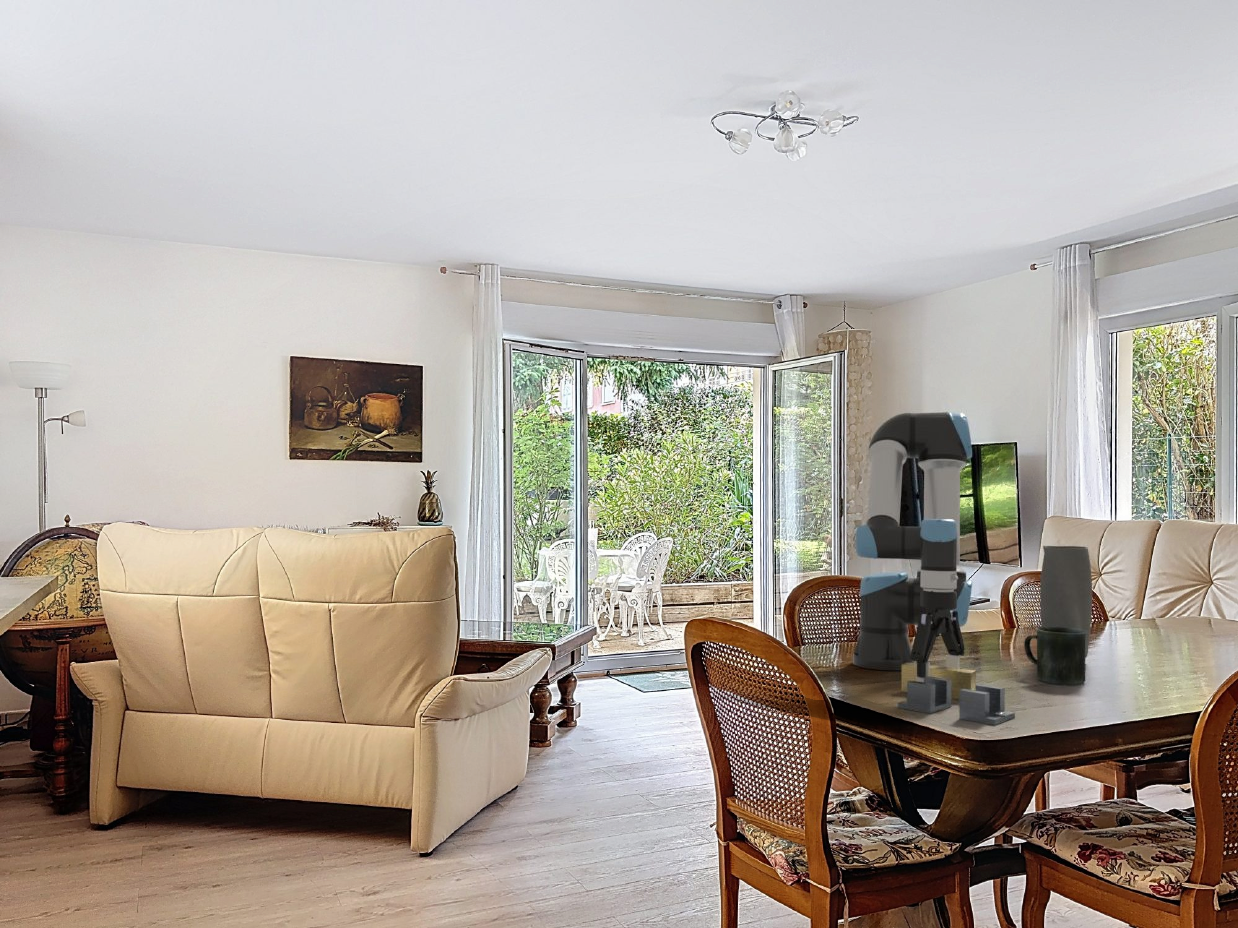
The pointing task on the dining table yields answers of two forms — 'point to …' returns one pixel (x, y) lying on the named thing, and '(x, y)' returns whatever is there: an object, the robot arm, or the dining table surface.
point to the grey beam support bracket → (984, 705)
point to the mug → (1059, 655)
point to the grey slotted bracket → (928, 695)
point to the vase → (1066, 589)
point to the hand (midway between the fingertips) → (938, 688)
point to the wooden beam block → (957, 677)
